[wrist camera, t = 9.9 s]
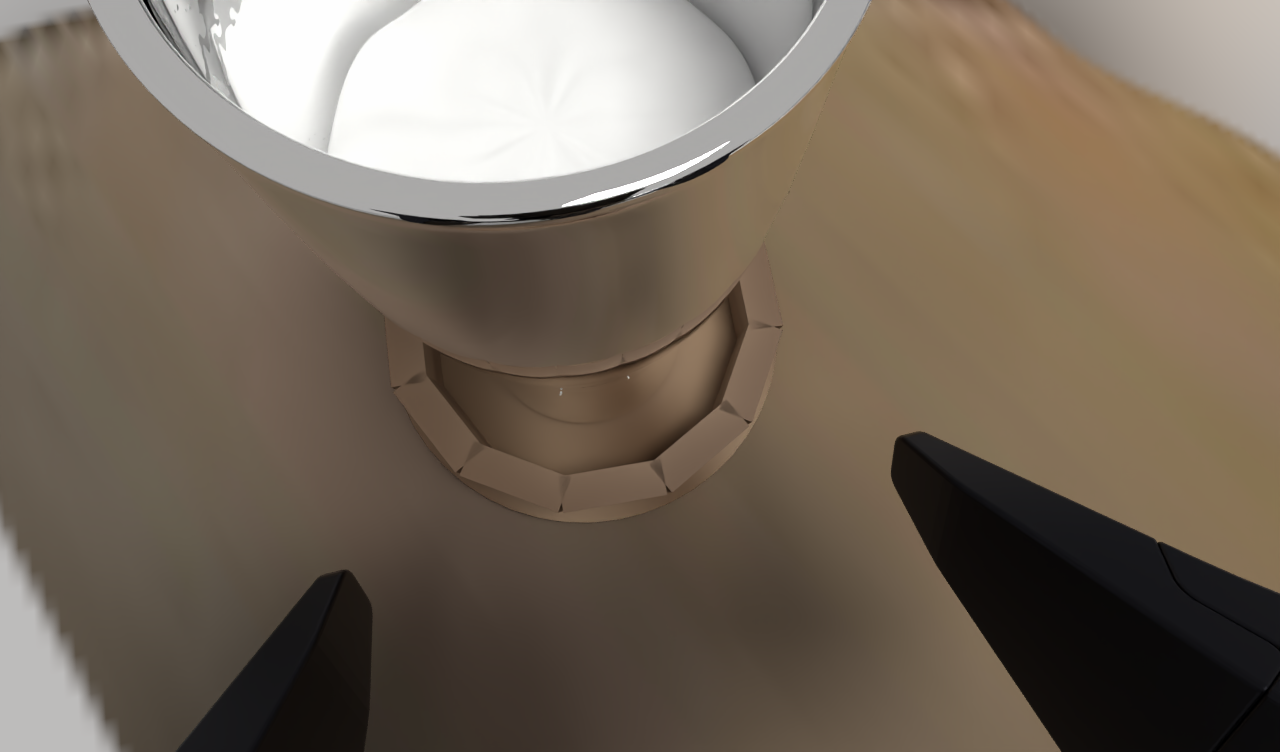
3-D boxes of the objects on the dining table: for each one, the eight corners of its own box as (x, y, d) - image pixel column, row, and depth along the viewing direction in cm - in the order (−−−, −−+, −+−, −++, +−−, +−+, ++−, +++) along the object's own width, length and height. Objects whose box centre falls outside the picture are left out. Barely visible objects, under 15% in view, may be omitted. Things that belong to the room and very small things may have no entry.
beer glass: (432, 305, 19) (-137, -275, 5) (609, 189, 20) (595, -588, 6) (557, 483, 19) (333, 456, 4) (736, 353, 20) (1106, -66, 5)
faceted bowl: (556, 607, 18) (547, 624, 16) (320, 303, 20) (281, 277, 18) (849, 355, 20) (879, 337, 18) (613, 94, 22) (613, 46, 19)
